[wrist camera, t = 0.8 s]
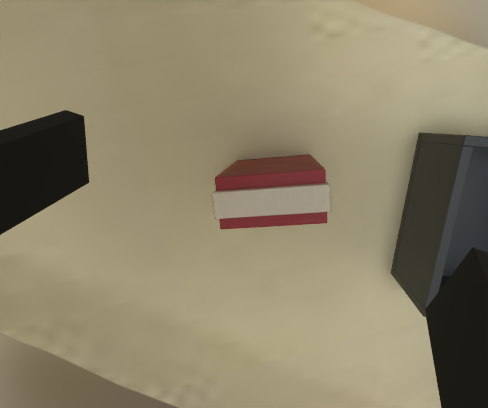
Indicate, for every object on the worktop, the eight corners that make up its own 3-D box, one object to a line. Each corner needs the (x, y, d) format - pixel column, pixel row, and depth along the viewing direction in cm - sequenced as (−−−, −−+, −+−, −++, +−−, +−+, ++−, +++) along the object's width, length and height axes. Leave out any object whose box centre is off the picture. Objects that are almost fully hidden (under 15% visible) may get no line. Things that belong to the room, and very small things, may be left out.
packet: (234, 160, 36) (210, 179, 24) (312, 154, 35) (329, 169, 23) (238, 196, 37) (216, 232, 25) (313, 190, 36) (331, 225, 24)
